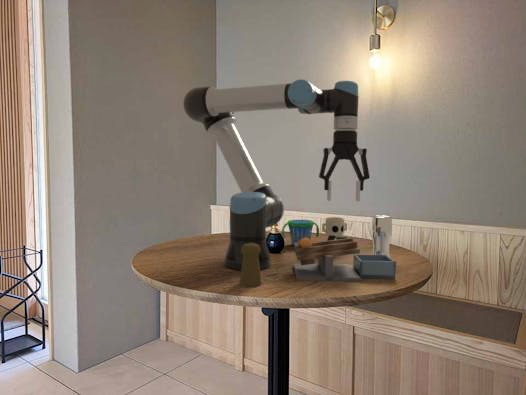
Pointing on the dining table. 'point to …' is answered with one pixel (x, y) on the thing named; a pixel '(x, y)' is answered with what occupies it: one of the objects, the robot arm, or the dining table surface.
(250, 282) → the brown upright piece
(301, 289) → the dining table surface
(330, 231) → the character mug
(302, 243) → the ball
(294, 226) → the snack cup
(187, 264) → the dining table surface
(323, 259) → the lever base
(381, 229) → the beer glass
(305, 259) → the tilt lever
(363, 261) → the cup
